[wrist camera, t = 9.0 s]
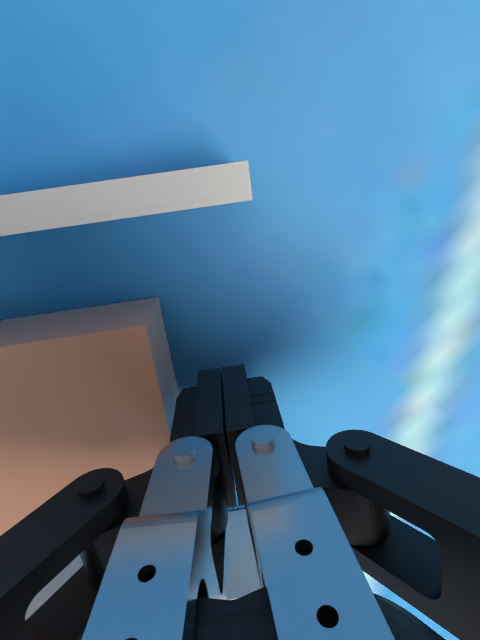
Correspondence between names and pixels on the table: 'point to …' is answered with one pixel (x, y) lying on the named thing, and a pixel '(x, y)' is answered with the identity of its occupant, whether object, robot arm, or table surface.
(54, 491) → the terracotta tile
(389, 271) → the table surface
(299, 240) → the table surface
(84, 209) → the box
